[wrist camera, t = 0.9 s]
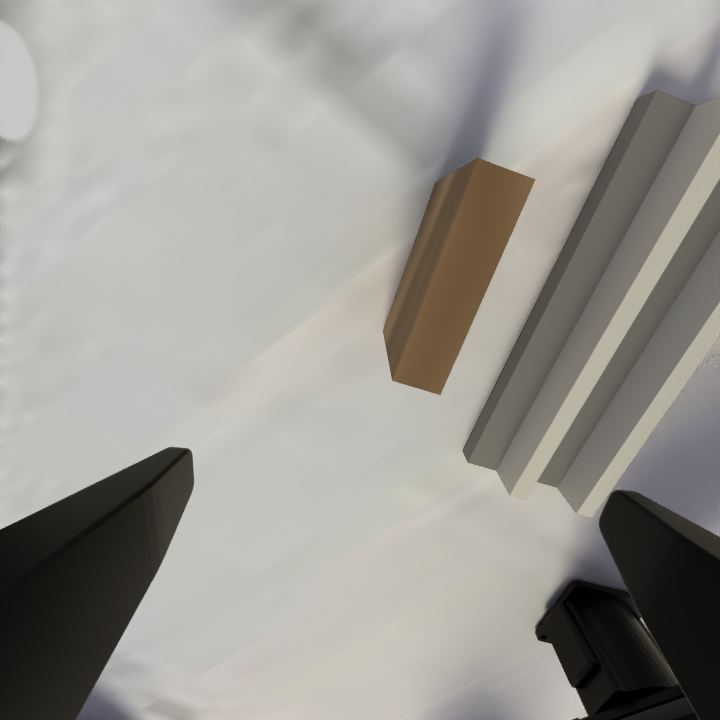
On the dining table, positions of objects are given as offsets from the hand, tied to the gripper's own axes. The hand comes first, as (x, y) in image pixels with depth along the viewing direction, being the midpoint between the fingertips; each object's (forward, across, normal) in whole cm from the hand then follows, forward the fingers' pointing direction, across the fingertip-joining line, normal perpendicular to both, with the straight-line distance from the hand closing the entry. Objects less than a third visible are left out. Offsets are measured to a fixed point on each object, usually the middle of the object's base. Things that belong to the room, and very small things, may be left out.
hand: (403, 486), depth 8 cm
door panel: (+14, -2, -3) cm, 14 cm away
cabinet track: (+13, -13, -1) cm, 19 cm away
